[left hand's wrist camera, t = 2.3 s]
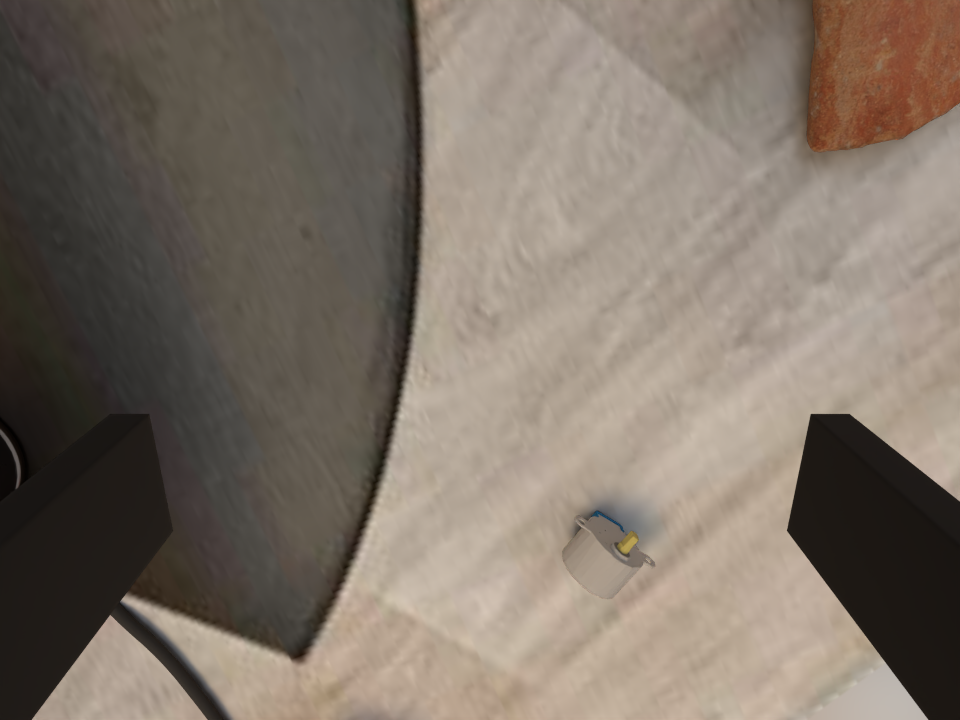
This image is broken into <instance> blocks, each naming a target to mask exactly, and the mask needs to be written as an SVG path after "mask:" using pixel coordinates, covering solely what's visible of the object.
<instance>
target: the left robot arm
mask: <svg viewBox="0 0 960 720" xmlns="http://www.w3.org/2000/svg"><path fill="white" fill-rule="evenodd" d="M172 531H173V529H172V524H171V519H170V514H169V509H168V504H167V499H166V494H165V489H164V484H163V480H162V475H161V470H160V465H159V460H158V455H157V450H156V445H155V440H154V435H153V431H152V426H151V421H150V416H149V414H110V415H109V416H107V417H106V418H105V419H104V420H102V421H101V422H100V423H99V424H97V425H96V426H95V427H94V428H92V429H91V430H90V431H89V432H87V433H86V434H85V435H84V436H82V437H81V438H80V439H78V440H77V441H76V442H75V443H73V444H72V445H71V446H70V447H68V448H67V449H66V450H65V451H63V452H62V453H61V454H60V455H58V456H57V457H56V458H55V459H53V460H52V461H51V462H50V463H48V464H47V465H46V466H44V467H43V468H42V469H41V470H39V471H38V472H37V473H36V474H34V475H33V476H32V477H31V478H29V479H28V480H27V481H26V482H24V483H23V484H22V485H21V486H19V487H18V488H17V489H15V490H14V491H13V492H12V493H10V494H9V495H8V496H7V497H5V498H4V499H3V500H2V501H0V720H32V718H33V717H34V716H35V714H36V713H37V712H38V710H39V709H40V708H41V706H42V705H43V704H44V702H45V701H46V700H47V698H48V697H49V696H50V694H51V693H52V692H53V690H54V689H55V688H56V686H57V685H58V684H59V682H60V681H61V680H62V678H63V677H64V676H65V674H66V673H67V672H68V670H69V669H70V668H71V666H72V665H73V664H74V662H75V661H76V660H77V658H78V657H79V656H80V654H81V653H82V652H83V650H84V649H85V648H86V646H87V645H88V644H89V642H90V641H91V640H92V638H93V637H94V636H95V634H96V633H97V632H98V630H99V629H100V628H101V626H102V625H103V624H104V622H105V621H106V620H107V618H108V617H109V616H110V614H111V613H112V612H113V610H114V609H115V608H116V606H117V605H118V604H119V602H120V601H121V600H122V598H123V597H124V596H125V594H126V593H127V592H128V590H129V589H130V588H131V586H132V585H133V584H134V582H135V581H136V580H137V578H138V577H139V576H140V574H141V573H142V572H143V570H144V569H145V568H146V566H147V565H148V564H149V562H150V561H151V559H152V558H153V557H154V555H155V554H156V553H157V551H158V550H159V549H160V547H161V546H162V545H163V543H164V542H165V541H166V539H167V538H168V537H169V535H170V534H171V533H172ZM787 531H788V533H789V534H790V535H791V537H792V538H793V539H794V541H795V542H796V543H797V545H798V546H799V547H800V549H801V550H802V551H803V553H804V554H805V555H806V557H807V558H808V559H809V561H810V562H811V564H812V565H813V566H814V568H815V569H816V570H817V572H818V573H819V574H820V576H821V577H822V578H823V580H824V581H825V582H826V584H827V585H828V586H829V588H830V589H831V590H832V592H833V593H834V594H835V596H836V597H837V598H838V600H839V601H840V602H841V604H842V605H843V606H844V608H845V609H846V610H847V612H848V613H849V614H850V616H851V617H852V618H853V620H854V621H855V622H856V624H857V625H858V626H859V628H860V629H861V630H862V632H863V633H864V634H865V636H866V637H867V638H868V640H869V641H870V642H871V644H872V645H873V646H874V648H875V649H876V650H877V652H878V653H879V654H880V656H881V657H882V658H883V660H884V661H885V662H886V664H887V665H888V666H889V668H890V669H891V670H892V672H893V673H894V674H895V676H896V677H897V678H898V680H899V681H900V682H901V684H902V685H903V686H904V688H905V689H906V690H907V692H908V693H909V694H910V696H911V697H912V698H913V700H914V701H915V702H916V704H917V705H918V706H919V708H920V709H921V710H922V712H923V713H924V714H925V716H926V717H927V718H928V720H960V501H958V500H957V499H956V498H955V497H953V496H952V495H951V494H950V493H948V492H947V491H946V490H944V489H943V488H942V487H941V486H939V485H938V484H937V483H936V482H934V481H933V480H932V479H931V478H929V477H928V476H927V475H926V474H924V473H923V472H922V471H921V470H919V469H918V468H917V467H916V466H914V465H913V464H912V463H910V462H909V461H908V460H907V459H905V458H904V457H903V456H902V455H900V454H899V453H898V452H897V451H895V450H894V449H893V448H892V447H890V446H889V445H888V444H887V443H885V442H884V441H883V440H882V439H880V438H879V437H878V436H876V435H875V434H874V433H873V432H871V431H870V430H869V429H868V428H866V427H865V426H864V425H863V424H861V423H860V422H859V421H858V420H856V419H855V418H854V417H853V416H851V415H850V414H811V416H810V421H809V426H808V431H807V435H806V440H805V445H804V450H803V455H802V460H801V465H800V470H799V475H798V480H797V484H796V489H795V494H794V499H793V504H792V509H791V514H790V519H789V524H788V529H787Z"/></svg>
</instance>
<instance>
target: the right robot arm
mask: <svg viewBox="0 0 960 720" xmlns="http://www.w3.org/2000/svg"><path fill="white" fill-rule="evenodd" d="M25 472H26V469H25V461H24V457H23V453H22V451H21V448H20V446H19V444H18V442H17V441H16V439H15V437H14V436H13V435H12V433H11V432H10V431H9V429H8V428H7V427H6V426H5V425H4V424H3V423H2V422H1V421H0V501H2V500H3V499H4V498H5V497H7V496H8V495H9V494H10V493H12V492H13V491H14V490H15V489H17V488H18V487H19V486H21V485H22V484H23V483H24V481H25ZM110 615H111V616H112V617H113V618H114V619H115V620H116V621H117V622H118V623H119V624H120V625H121V626H123V627H124V628H125V629H126V630H127V631H128V632H129V633H130V634H131V635H132V636H134V637H135V638H136V639H137V640H138V641H139V642H140V643H142V644H143V645H144V646H145V647H146V648H147V649H148V650H149V651H150V652H151V653H152V654H153V655H154V656H155V657H156V658H157V659H158V660H159V661H160V662H161V663H162V664H163V665H164V666H165V667H166V668H167V669H168V671H169V672H170V673H171V674H172V675H173V676H174V678H175V679H176V680H177V681H178V682H179V684H180V685H181V686H182V687H183V689H184V690H185V691H186V692H187V694H188V695H189V696H190V697H191V699H192V700H193V701H194V703H195V704H196V705H197V706H198V708H199V709H200V710H201V711H202V713H203V714H204V715H205V717H206V718H207V719H208V720H224V719H223V718H222V717H221V715H220V714H219V712H218V711H217V710H216V708H215V707H214V706H213V704H212V703H211V702H210V700H209V699H208V698H207V696H206V695H205V694H204V692H203V691H202V690H201V689H200V687H199V686H198V685H197V683H196V682H195V681H194V680H193V678H192V677H191V676H190V675H189V673H188V672H187V671H186V670H185V668H184V667H183V666H182V665H181V664H180V662H179V661H178V660H177V659H176V658H175V657H174V655H173V654H172V653H171V652H170V651H169V650H168V649H167V648H166V647H165V646H164V645H163V644H162V643H161V642H160V641H159V640H158V639H157V638H156V637H155V636H154V635H153V634H151V633H150V632H149V631H148V630H147V629H146V628H145V627H144V626H142V625H141V624H140V623H139V622H138V621H137V620H136V619H135V618H134V617H133V616H132V615H131V614H129V613H128V612H127V611H126V610H125V609H124V608H123V607H122V606H121V605H120V604H118V605H117V606H116V608H115V609H114V610H113V612H112V613H111V614H110Z"/></svg>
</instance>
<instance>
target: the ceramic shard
mask: <svg viewBox="0 0 960 720" xmlns="http://www.w3.org/2000/svg"><path fill="white" fill-rule="evenodd" d="M812 12H813V18H814V28H815V41H814V54H813V57H812V62H811V75H810V87H809V100H808V103H809V106H808V118H807V140H808V144H809V146H810V148H811V149H812V150H813V151H815V152H826V151H836V150H849V149H853V148H862V147H864V146H866V145H869V144H873V143H879V142H884V141H889V140H899V139H903V138H904V137H905V136H907V135H908V134H910V133H911V132H912V131H914V130H917V129H919V128H921V127H922V126H924V125H925V124H927V123H928V122H930V121H932V120H934V119H936V118H938V117H940V116H942V115H944V114H945V113H947V112H948V111H949V110H951V109H952V108H953V107H954V106H956V105H957V104H959V103H960V0H813V3H812Z"/></svg>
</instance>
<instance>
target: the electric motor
mask: <svg viewBox="0 0 960 720" xmlns="http://www.w3.org/2000/svg"><path fill="white" fill-rule="evenodd" d="M579 520H581V521H582V522H584V524H582V523H581V522H580V521H579ZM575 521H576V523H577V524H578V525H579V526H580V527H582V528H581V529H580V530H579V531H578V533H577V534H576V535H575V536H574V537H573V539H572V540H571V541H570V542H569V543H568V545H567V546H566V547H565V548H564V550H563V551H562V557H563V561H564V564H565V566H566V568H567V570H568V571H569V572H570V574H571V575H572V577H573V578H574V579H575V580H576V581H577V582H578V583H579V584H580V585H581V586H582V587H583V588H585V589H586V590H587V591H589V592H590V593H592V594H594V595H595V596H597V597H600V598H603V599H612V598H613V597H614V596H615V595H616V594H617V593H618V592H619V590H620V589H621V588H622V587H623V586H624V585H625V584H626V583H627V582H628V581H629V580H630V578H631V577H632V576H633V575H634V574H635V573H636V572H637V571H638V570H639V569H640V568H641V567H642V565H643V564H645V565H647V566H649V567H651V568H654V567H655V562H654V561H653V560H652V559H651V558H650V557H649V556H647V555H646V554H644V553H642V552H640V551H639V549H638V548H637V546H636V545H635V544H636V542H637V541H638V540H639V539H638V536H637V534H636V533H635V532H633V531H631V532H630V533H629V534H628V535H626V534H625V533H624V530H623V527H622V526H621V525H620V524H619V523H617V522H615V521H613V520H612V519H610V518H608V517H607V516H605V515H603V514H602V513H600V512H598V511H596V512H595V513H594V514H593V515H592V517H590V518H589V520H588V521H587V520H585V519H584V518H582V517H581V516H575ZM645 558H646V559H648V560H649V561H650V563H649V562H648V561H647V560H646V559H645Z"/></svg>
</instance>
